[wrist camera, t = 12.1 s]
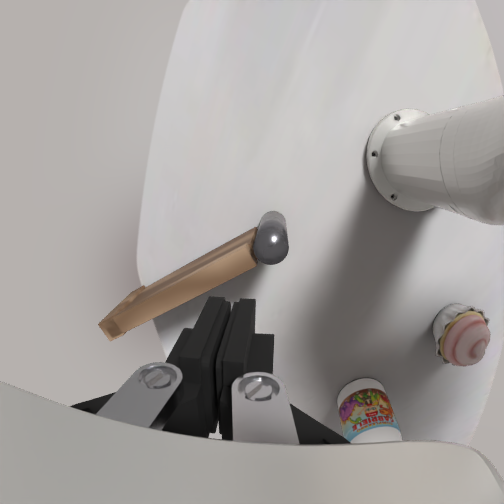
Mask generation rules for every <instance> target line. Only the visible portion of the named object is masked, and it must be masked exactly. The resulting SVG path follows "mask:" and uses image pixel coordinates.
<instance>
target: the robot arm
mask: <svg viewBox="0 0 504 504" xmlns="http://www.w3.org/2000/svg"><path fill="white" fill-rule="evenodd" d="M394 117H396V120H395V119H394ZM372 152H373V153H374V154H375V155H374V157H373V156H372ZM366 157H367V167H368V171H369V174H370V177H371V179H372V182H373V184H374V186H375V187H376V189H377V190H378V191H379V193H380V194H381V195H382V196H383V197H384V198H385V199H386V200H387V201H389V202H390V203H391V204H393V205H395V206H397V207H399V208H401V209H404V210H408V211H416V212H418V211H425V210H428V209H431V208H433V207H435V206H436V207H439V208H442V209H445V210H448V211H451V212H454V213H457V214H460V215H462V216H465V217H468V218H471V219H474V220H477V221H479V222H482V223H486V224H490V225H504V95H503V96H500V97H496V98H493V99H489V100H486V101H482V102H478V103H474V104H470V105H466V106H462V107H458V108H454V109H450V110H446V111H442V112H438V113H435V114H431V115H430V114H428V113H426V112H424V111H421V110H417V109H402V110H398V111H395V112H393V113H390V114H389V115H387V116H385V117H384V118H383V119H382V120H380V121H379V122H378V124H377V125H376V126H375V128H374V129H373V131H372V133H371V135H370V138H369V141H368V145H367V155H366ZM392 194H393V198H391V195H392ZM255 307H256V300H255V299H242V298H241V299H240V302H234V305H233V308H232V311H231V304H230V302H228V301H225V298H224V297H209V299H208V300H207V302H206V304H205V306H204V308H203V310H202V312H201V314H200V316H199V318H198V320H197V322H196V324H195V326H194V328H193V329H191V328H184V329H183V331H182V333H181V335H180V336H179V338H178V340H177V342H176V344H175V345H174V347H173V349H172V351H171V353H170V354H169V356H168V358H167V360H166V362H165V363H163V362H155V363H150V364H146V365H144V366H142V367H140V368H139V369H138V370H136V371H135V372H134V373H133V375H132V376H131V377H130V378H129V379H128V380H127V381H126V382H125V383H124V384H123V385H122V387H121V388H120V389H119V390H118V391H117V392H115V393H112V394H109V395H105V396H102V397H99V398H95V399H92V400H89V401H85V402H82V403H78V404H75V405H72V406H70V407H69V406H66V405H63V404H60V403H57V402H54V401H52V400H49V399H46V398H44V397H41V396H38V395H36V394H33V393H30V392H28V391H25V390H23V389H20V388H17V387H15V386H12V385H10V384H7V383H4V382H1V381H0V504H504V481H503V479H502V477H501V476H500V474H499V473H498V471H497V470H496V468H495V467H494V466H493V464H492V463H491V462H490V461H489V460H488V459H487V458H486V457H485V456H484V455H483V454H482V453H481V452H479V451H478V450H476V449H474V448H472V447H469V446H466V445H462V444H458V443H452V442H444V441H437V440H402V441H387V442H372V443H351V442H349V441H348V440H347V439H346V438H344V437H342V436H340V435H339V434H337V433H336V432H334V431H332V430H331V429H329V428H327V427H326V426H324V425H323V424H321V423H319V422H318V421H316V420H315V419H313V418H312V417H310V416H308V415H307V414H305V413H304V412H302V411H301V410H299V409H298V408H296V407H295V406H293V405H292V404H290V403H289V399H288V395H287V391H286V387H285V385H284V383H283V381H282V380H281V379H279V378H278V377H276V376H274V375H272V374H273V352H274V334H255ZM218 420H219V433H220V434H222V440H221V439H212V438H208V437H209V433H215V432H216V428H217V424H218Z"/></svg>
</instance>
